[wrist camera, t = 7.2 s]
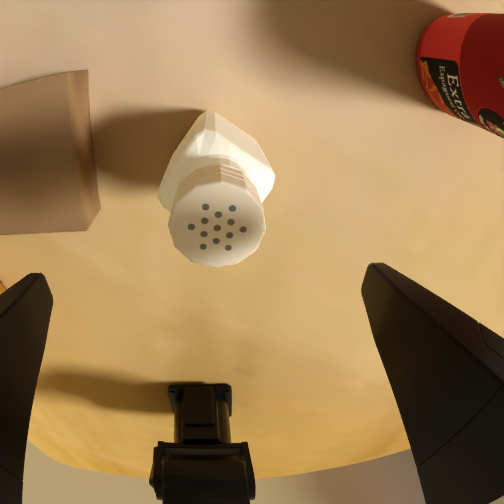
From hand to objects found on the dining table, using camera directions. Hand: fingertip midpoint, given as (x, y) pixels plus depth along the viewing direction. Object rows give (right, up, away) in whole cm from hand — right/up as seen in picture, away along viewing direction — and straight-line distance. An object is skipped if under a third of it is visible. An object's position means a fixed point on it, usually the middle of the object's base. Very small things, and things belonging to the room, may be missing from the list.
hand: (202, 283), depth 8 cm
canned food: (+15, +14, +8) cm, 22 cm away
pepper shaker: (-1, +7, +10) cm, 12 cm away
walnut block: (-13, +7, +8) cm, 17 cm away
